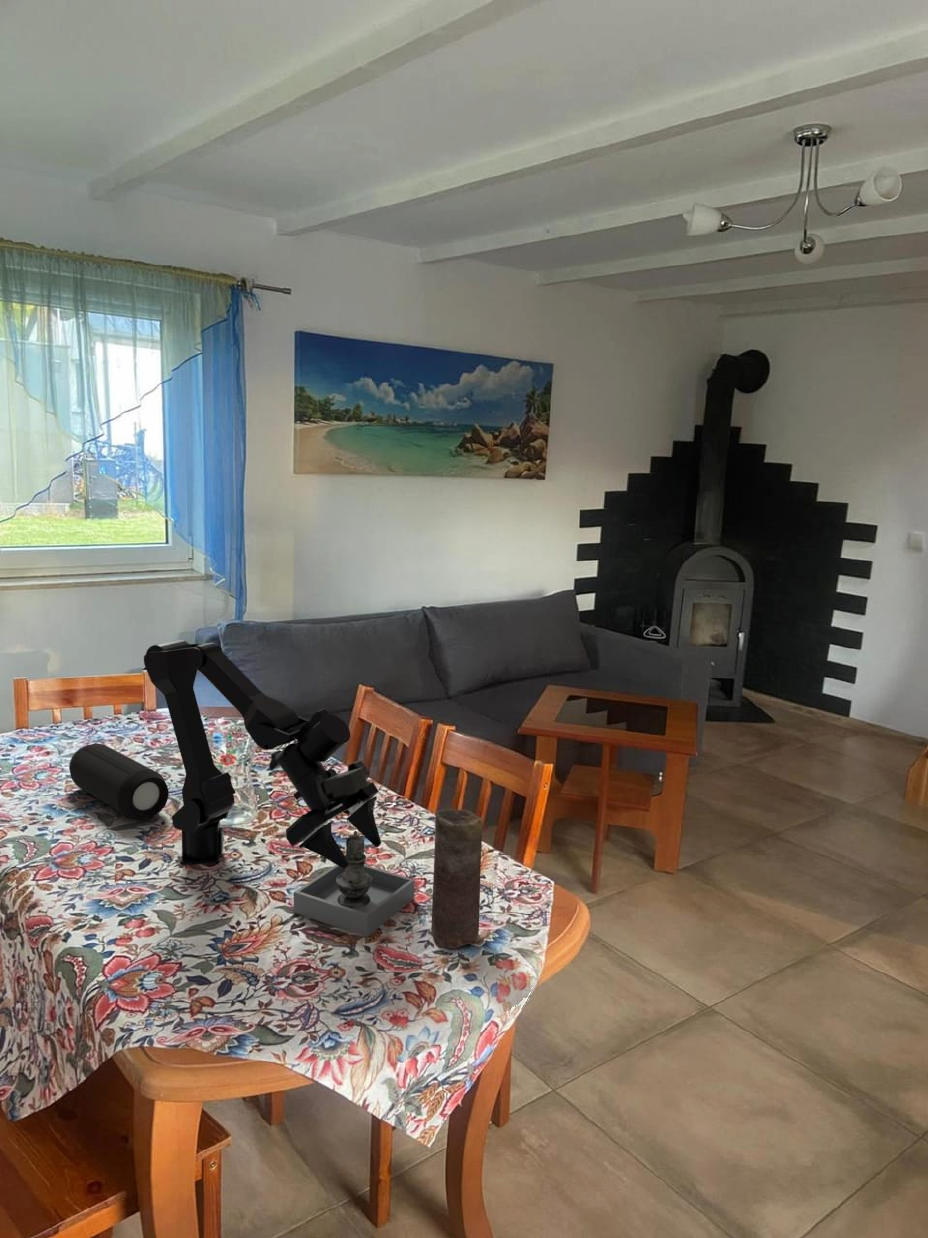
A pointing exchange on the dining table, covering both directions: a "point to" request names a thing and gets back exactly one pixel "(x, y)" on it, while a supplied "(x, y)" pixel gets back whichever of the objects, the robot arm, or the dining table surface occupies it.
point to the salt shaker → (354, 875)
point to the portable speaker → (119, 781)
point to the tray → (384, 903)
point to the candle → (456, 878)
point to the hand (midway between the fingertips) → (363, 856)
